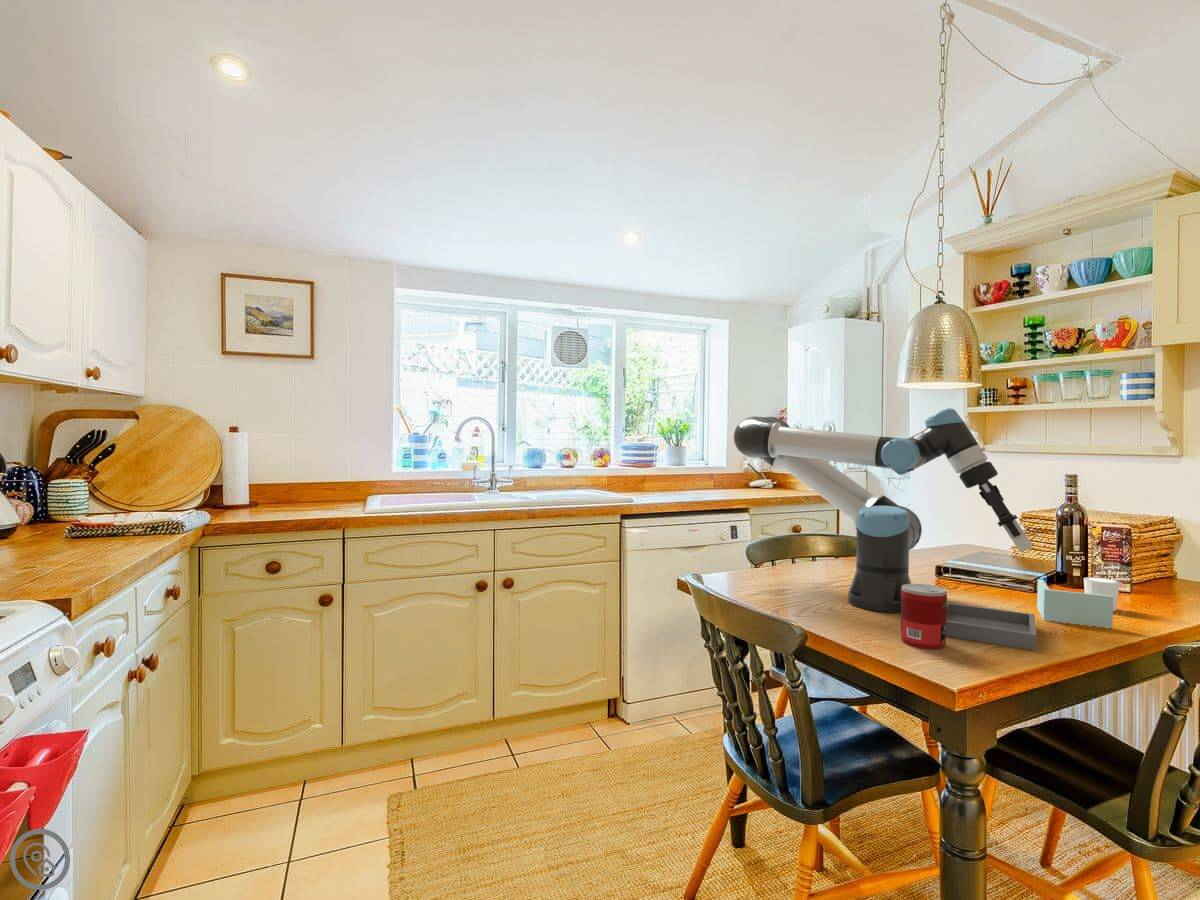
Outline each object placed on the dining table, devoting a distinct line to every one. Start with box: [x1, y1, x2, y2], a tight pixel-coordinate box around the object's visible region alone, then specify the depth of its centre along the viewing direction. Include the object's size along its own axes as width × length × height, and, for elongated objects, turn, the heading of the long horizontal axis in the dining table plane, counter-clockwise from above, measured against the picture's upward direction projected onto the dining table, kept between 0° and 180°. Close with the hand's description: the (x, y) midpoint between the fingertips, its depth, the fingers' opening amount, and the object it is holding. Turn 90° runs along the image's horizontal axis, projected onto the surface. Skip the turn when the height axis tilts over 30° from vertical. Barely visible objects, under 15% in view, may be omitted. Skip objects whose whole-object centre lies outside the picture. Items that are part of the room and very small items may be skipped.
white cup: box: [1083, 576, 1121, 612], centre depth 148 cm, size 7×7×7 cm
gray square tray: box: [946, 601, 1037, 651], centre depth 131 cm, size 17×17×3 cm
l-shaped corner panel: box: [1036, 578, 1114, 629], centre depth 141 cm, size 12×12×8 cm
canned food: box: [900, 583, 948, 650], centre depth 123 cm, size 8×8×11 cm
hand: (1026, 548), depth 143 cm, fingers open, 13 cm apart
